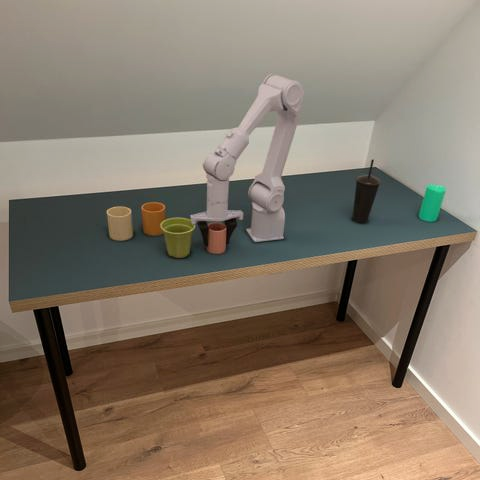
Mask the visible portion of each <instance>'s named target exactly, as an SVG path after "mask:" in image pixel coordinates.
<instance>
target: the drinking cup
mask: <svg viewBox="0 0 480 480" xmlns="http://www.w3.org/2000/svg"><path fill="white" fill-rule="evenodd" d="M374 161H375V159H374V158H373V159H371V161H370V166H369V170H368V174H363V175H358V176H357V177H356V178H355V182H356V183H355V191H354V201H353V210H352V219H351V220H352V221H353V222H354V223H356V224H366V223H368V220H369V217H370V214H371V212H372V208H373V205H374V202H375V199H376V196H377V193H378V189H379V187H380V185H381V183H382V180H381V179H380V178H378V177H376V176H375V175H372V171H373V166H374Z"/></svg>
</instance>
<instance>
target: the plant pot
mask: <svg viewBox="0 0 480 480" xmlns="http://www.w3.org/2000/svg"><path fill="white" fill-rule="evenodd" d="M160 227H161V229H162V230H163V236H164V240H165V245H166V251H167V254H168V256H169V257H173V258H175V259H183V258H186V257H187V256H188V255H190V252H191V245H192V238H193V234H194V230H195V229H196V224H192V223H191V219H189V218H185V217H171V218H166V220H164V221H163V222H162V223H161V225H160Z"/></svg>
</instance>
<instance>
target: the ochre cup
mask: <svg viewBox="0 0 480 480" xmlns="http://www.w3.org/2000/svg"><path fill="white" fill-rule="evenodd" d="M140 209H141V223H142V231H143V233H144V235H145V234H146V235H148V236H153V237H155V236H161V235H164V233H163V230H162V229H161V227H160V225H161V223H162V222H163V221H164V220H167V218H166V217H167V215H166V205H165V204H163V203H162V202H157V201H156V202H155V201H149V202H147V203H146V202H145V203H144V204H142V205H141V208H140Z"/></svg>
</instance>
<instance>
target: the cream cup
mask: <svg viewBox="0 0 480 480" xmlns="http://www.w3.org/2000/svg"><path fill="white" fill-rule="evenodd" d="M132 214H133V213H132V209H131V208H129V207H126V206H113V207H110V208H108V209H107V210H106V220H107V229H108V236H109V238H110V239H112V240H114V241H117V242H120V241H127V240H130V239H132V238H133V236H134V227H133V215H132Z"/></svg>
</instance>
